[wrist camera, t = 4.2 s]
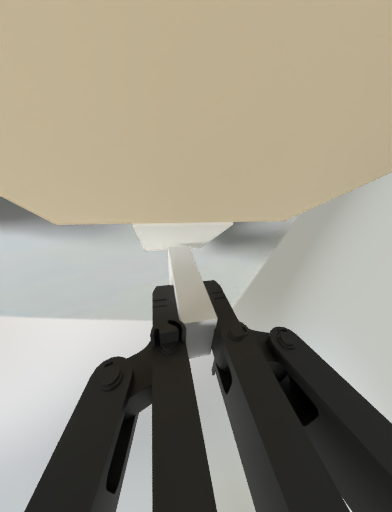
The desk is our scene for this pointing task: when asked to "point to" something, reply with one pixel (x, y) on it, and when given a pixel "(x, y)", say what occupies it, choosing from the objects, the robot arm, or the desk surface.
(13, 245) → the desk surface
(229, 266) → the desk surface
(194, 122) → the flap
